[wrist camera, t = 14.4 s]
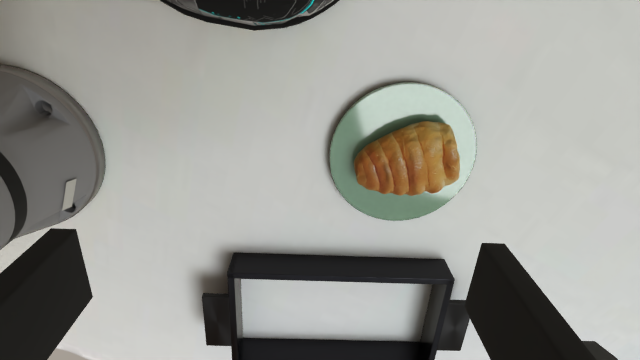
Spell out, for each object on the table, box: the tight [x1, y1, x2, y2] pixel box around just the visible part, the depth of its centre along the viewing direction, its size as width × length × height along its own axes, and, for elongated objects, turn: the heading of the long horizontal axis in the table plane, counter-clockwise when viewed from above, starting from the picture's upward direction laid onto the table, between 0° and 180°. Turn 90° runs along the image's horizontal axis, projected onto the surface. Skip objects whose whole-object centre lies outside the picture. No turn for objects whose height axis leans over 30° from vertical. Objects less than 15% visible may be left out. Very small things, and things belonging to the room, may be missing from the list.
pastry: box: [354, 121, 460, 196], centre depth 35 cm, size 9×7×4 cm
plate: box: [330, 82, 477, 221], centre depth 37 cm, size 14×14×1 cm
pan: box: [202, 253, 470, 360], centre depth 44 cm, size 29×13×4 cm, turn 87°
